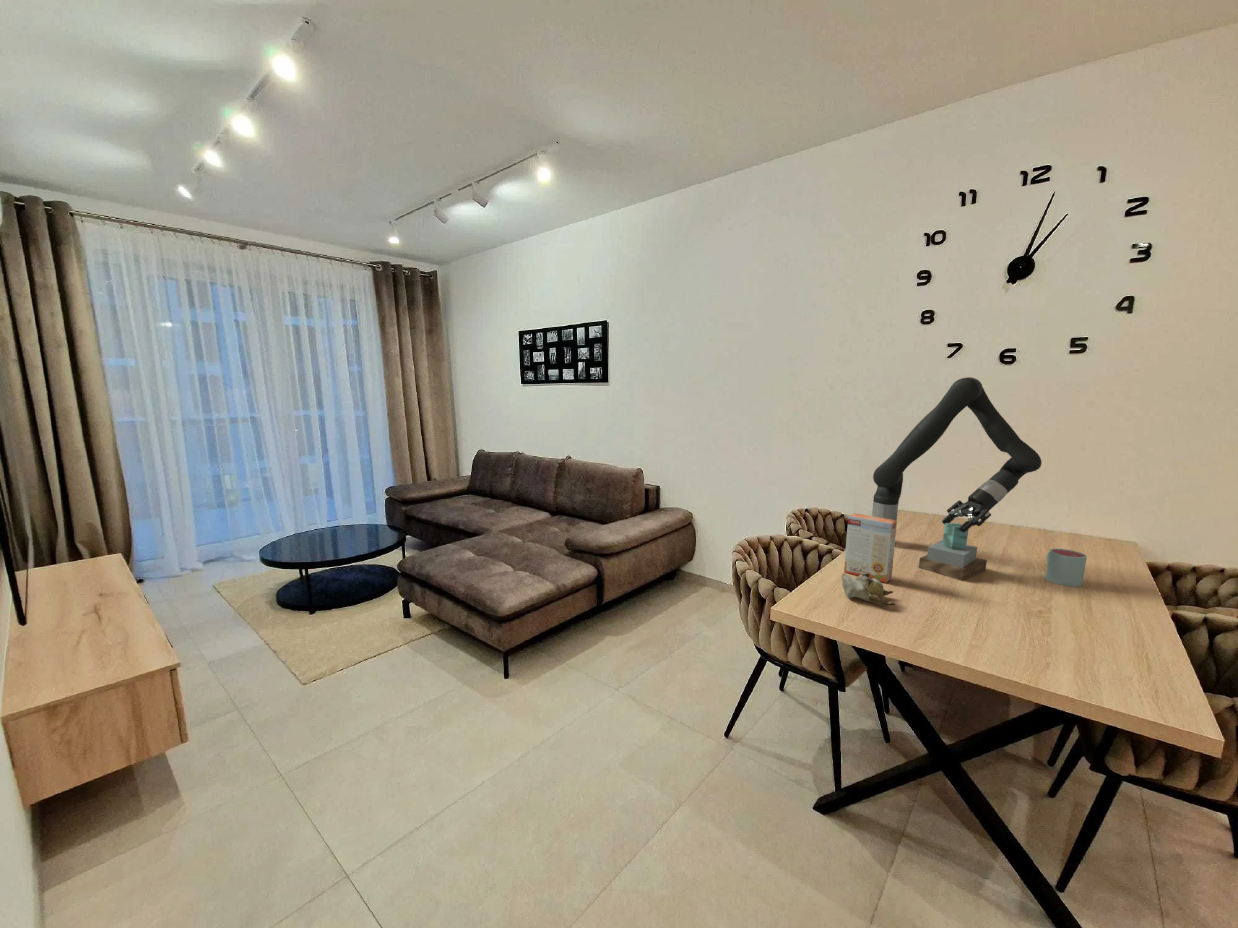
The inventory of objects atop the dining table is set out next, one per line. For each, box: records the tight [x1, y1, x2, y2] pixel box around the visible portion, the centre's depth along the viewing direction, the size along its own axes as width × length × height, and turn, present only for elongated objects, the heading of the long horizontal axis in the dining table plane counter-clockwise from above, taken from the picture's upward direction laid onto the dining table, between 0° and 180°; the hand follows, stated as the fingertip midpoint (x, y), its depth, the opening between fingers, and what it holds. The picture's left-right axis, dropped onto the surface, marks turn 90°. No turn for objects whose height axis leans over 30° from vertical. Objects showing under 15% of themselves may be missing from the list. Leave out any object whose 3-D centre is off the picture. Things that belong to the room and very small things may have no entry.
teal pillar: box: [942, 522, 970, 549], centre depth 173 cm, size 5×5×8 cm
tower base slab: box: [918, 554, 988, 582], centre depth 175 cm, size 14×18×4 cm
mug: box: [1045, 548, 1088, 588], centre depth 166 cm, size 14×9×10 cm
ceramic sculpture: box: [841, 573, 896, 607], centre depth 149 cm, size 11×9×15 cm
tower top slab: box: [926, 539, 978, 568], centre depth 174 cm, size 11×14×4 cm
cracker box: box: [843, 512, 898, 584], centre depth 167 cm, size 14×6×21 cm, turn 45°
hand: (952, 527), depth 173 cm, fingers open, 8 cm apart
